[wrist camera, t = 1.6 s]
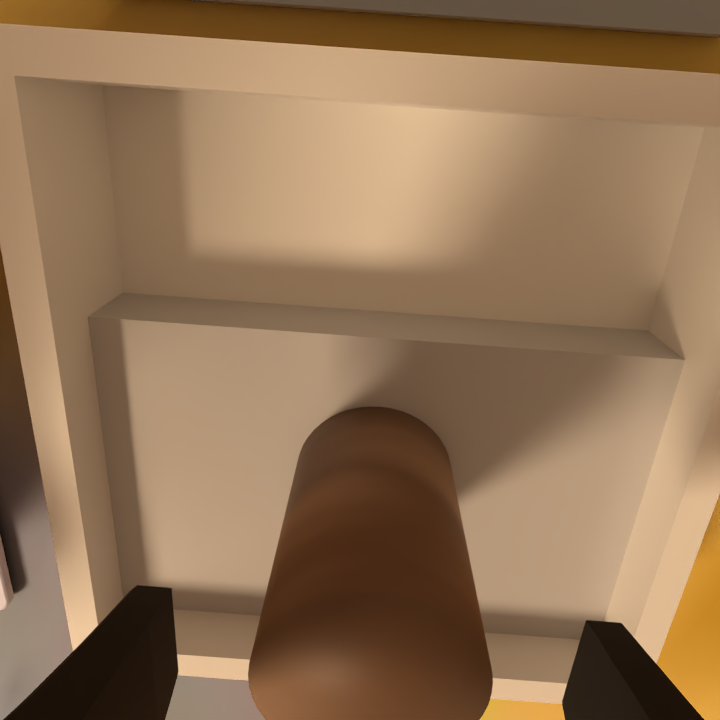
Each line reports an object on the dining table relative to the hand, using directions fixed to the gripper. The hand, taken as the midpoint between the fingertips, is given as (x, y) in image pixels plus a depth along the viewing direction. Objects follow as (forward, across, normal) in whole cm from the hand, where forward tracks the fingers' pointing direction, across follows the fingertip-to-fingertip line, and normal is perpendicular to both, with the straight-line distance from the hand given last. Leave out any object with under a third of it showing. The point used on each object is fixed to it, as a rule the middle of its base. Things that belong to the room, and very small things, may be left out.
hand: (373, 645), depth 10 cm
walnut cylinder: (+5, 0, 0) cm, 5 cm away
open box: (+8, 0, -2) cm, 8 cm away
